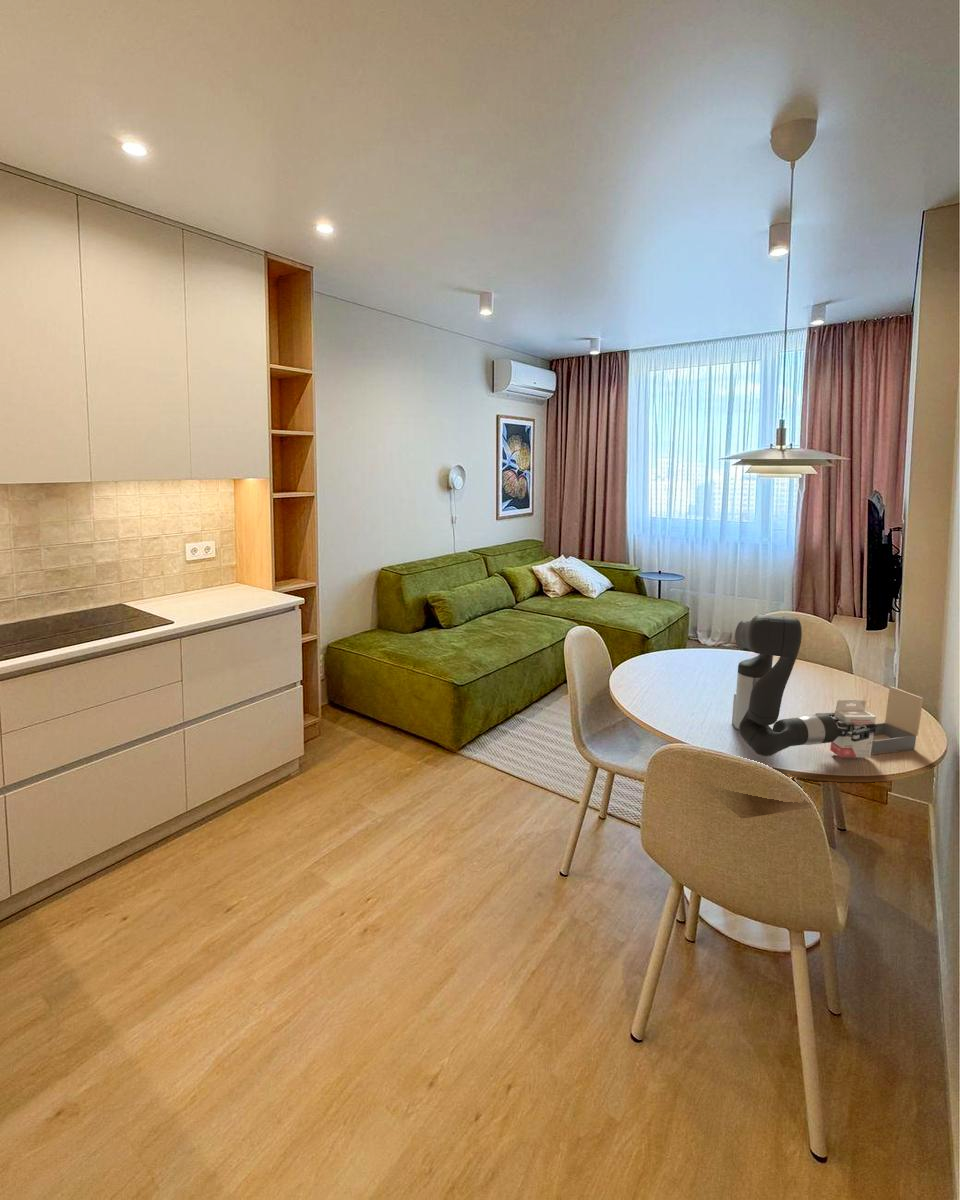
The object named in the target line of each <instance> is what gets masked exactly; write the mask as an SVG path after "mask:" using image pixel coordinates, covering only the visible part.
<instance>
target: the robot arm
mask: <svg viewBox="0 0 960 1200" xmlns="http://www.w3.org/2000/svg"><path fill="white" fill-rule="evenodd" d="M802 630H803V629H802V624H801V622H800V620H799V619H798V618H796V617H791V616H782V615H769V614H759V615H755V616H754V617H752V619H743V620H741V621H739V622H738V623H737V626H736V628H735V631H734V640H735V644H736V647H737V648H738V649H739V650H740V651H742V652H743V651H745V652H752V653H755V654H758V655H756V656H754V657H752V658H749V659H744V660H741V661H740V662H739V663H738V666H737V675H736V676H737V679H736V689H735V693H734V694H733V703H732V705H733V706H732V715H731V716H732V717H731V724H733V727H734V728H735V729H736V730H738V731H739V734H740V737H741V738H742V739H743V740H744V742H746V744H747V745H748V746H749V747H750V749H752V750H753V752H754V753H755V754H757V755H759V756H762V757H770V756H774V755H775V754H777V753H779V752H781V751H783V750H785V749H787V748H791V747H797V746H813V745H819V744H827V743H830V744H831V742H833V741H834V740H835V739H836V738H837V737H846V736H849V737H851V741H853V742H856V741H860V740H864V739H868V738H869V734H870V733H875V732H876V728H877V725H875V724H876V723H875V724H867V725H856V724H855V723H850V722H844V721H839V720H838V717H836V716H834V715H835V712H817V713H815V714H809V715H801V716H797V717H791V718H782V719H778V718H779V714H780V710H781V705H782V700H783V696H784V692H785V689H786V686H787V684H788V681H789V679H790V676H791V674H792V671H793V669H794V665H795V663H796V661H797V658H798V655H799V652H800V648H801V643H802V637H803V633H802V632H803V631H802ZM777 656H778V660H777V661H776V663H775V664H774V665H773V661H774V657H777ZM771 725H773V726H772V728H771ZM850 726H852V731H851V732H850ZM857 728H861V729H859V730H857Z"/></svg>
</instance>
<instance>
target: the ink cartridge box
mask: <svg viewBox="0 0 960 1200" xmlns="http://www.w3.org/2000/svg"><path fill="white" fill-rule="evenodd" d="M850 704H852V705H850ZM866 705H867V700H866V699H838V700H837V701H836V707H835V710H834V713H835V715H834V716H836V717H838V720H839V721H844V722H850V723H855V724H856V725H867V724H876V719H877V716H876V715H874V714H872V713H871V712H868V711H867V710H865V709H866ZM859 729H861V728H857V730H859ZM851 731H852V726H850V732H851ZM873 735H874V733H870V734H869V738H868V739H864V740H860V741H856V742H853V741H851V737H849V736H846V737H837V738H836V739H835V740H834V741H833V742H830V748H829V749H830V752H833V753H834V754H835V755H837V756H838V757H839V758H871V756H872V754H871V749H872V742H873Z"/></svg>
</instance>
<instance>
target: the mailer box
mask: <svg viewBox="0 0 960 1200" xmlns="http://www.w3.org/2000/svg"><path fill="white" fill-rule="evenodd" d="M923 702H924V697H921V696H918V695H916V694H913V693H911V692H908V691H904V690H903V689H900V688H898V687H894V686H889V689H888V697H887V704H886V705H887V706H886V713H885V722H877V723H875V725H877V728H876V732H875V733H874V735H873V742H872V749H871V756H872V755H873V756H875V755H876V756H877V755H884V754H891V753H899V752H904V751H912V750H913V751H914V750H915V747H916V741H917V740H916V739H917V737H918V736H919V730H920V726H921V725H920V723H921V719H922V718H921V717H922V708H923Z"/></svg>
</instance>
